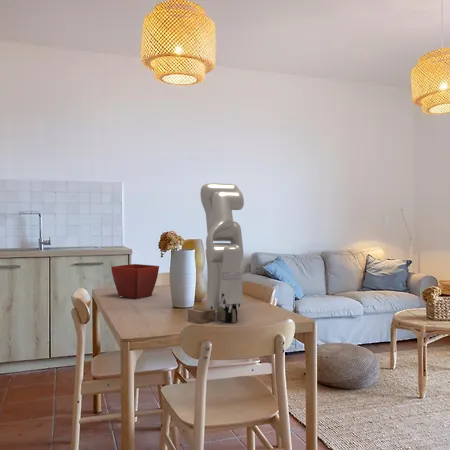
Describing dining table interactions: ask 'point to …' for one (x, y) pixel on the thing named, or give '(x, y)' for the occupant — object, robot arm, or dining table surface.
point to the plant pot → (135, 279)
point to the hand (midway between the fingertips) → (231, 320)
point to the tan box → (201, 315)
